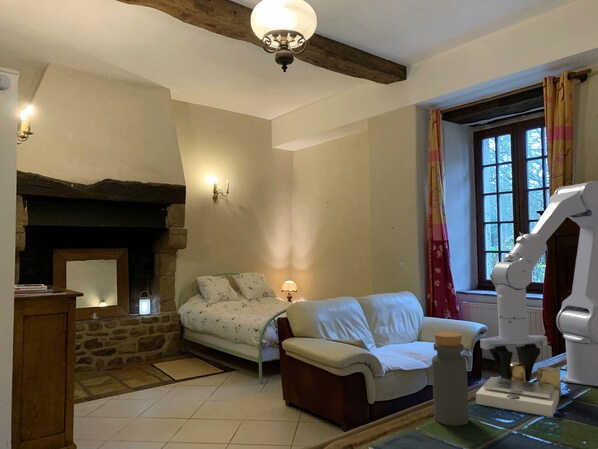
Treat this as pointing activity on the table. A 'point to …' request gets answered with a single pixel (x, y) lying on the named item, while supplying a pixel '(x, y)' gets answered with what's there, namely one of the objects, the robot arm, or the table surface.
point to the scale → (518, 401)
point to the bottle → (450, 380)
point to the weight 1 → (518, 371)
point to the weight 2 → (550, 377)
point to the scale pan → (519, 387)
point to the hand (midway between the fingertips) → (515, 381)
